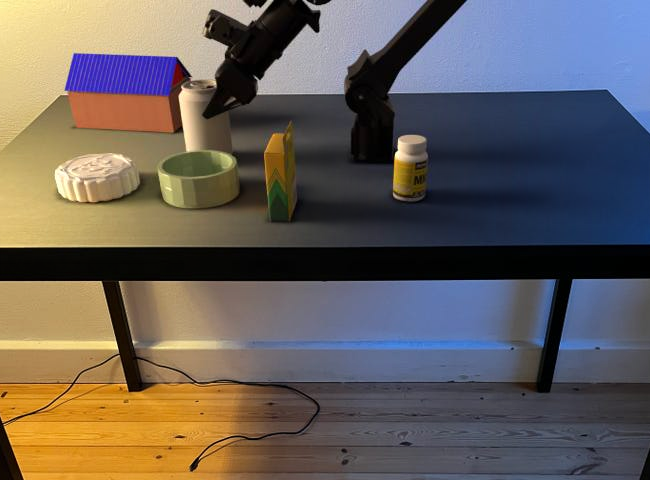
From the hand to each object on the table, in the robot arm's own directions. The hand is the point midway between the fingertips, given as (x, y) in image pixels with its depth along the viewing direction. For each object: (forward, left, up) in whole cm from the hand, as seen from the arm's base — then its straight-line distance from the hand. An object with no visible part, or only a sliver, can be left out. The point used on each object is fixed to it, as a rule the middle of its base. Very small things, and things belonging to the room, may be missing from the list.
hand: (208, 108), depth 108 cm
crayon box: (-15, +20, -8) cm, 26 cm away
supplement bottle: (-32, +13, -8) cm, 36 cm away
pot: (-1, +14, -8) cm, 16 cm away
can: (+1, 0, -8) cm, 9 cm away
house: (+20, -19, -8) cm, 29 cm away
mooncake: (+15, +13, -8) cm, 21 cm away
